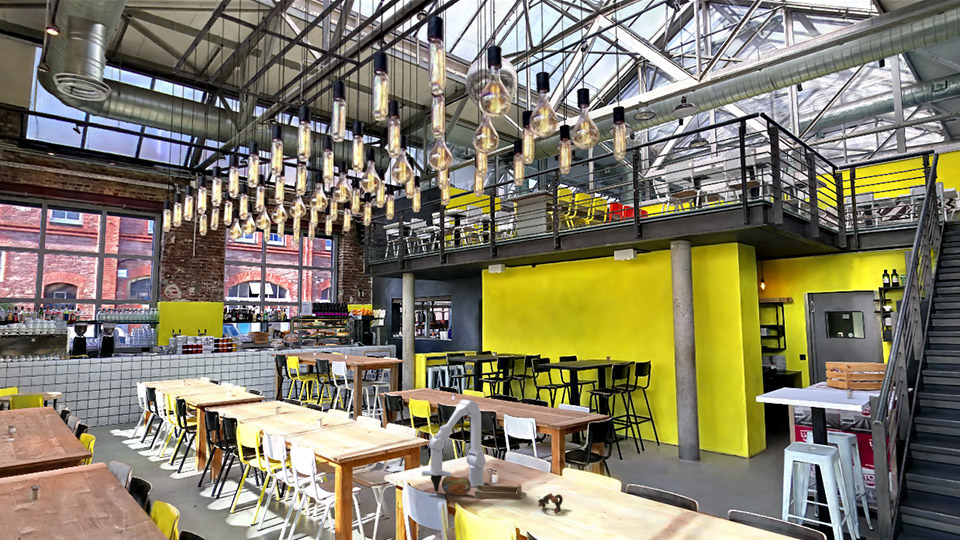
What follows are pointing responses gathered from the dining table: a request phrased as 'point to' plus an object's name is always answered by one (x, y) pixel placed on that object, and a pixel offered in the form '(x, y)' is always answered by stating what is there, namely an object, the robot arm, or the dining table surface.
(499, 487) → the walnut rails
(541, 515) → the dining table surface
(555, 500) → the brown figurine
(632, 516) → the dining table surface
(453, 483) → the tin
